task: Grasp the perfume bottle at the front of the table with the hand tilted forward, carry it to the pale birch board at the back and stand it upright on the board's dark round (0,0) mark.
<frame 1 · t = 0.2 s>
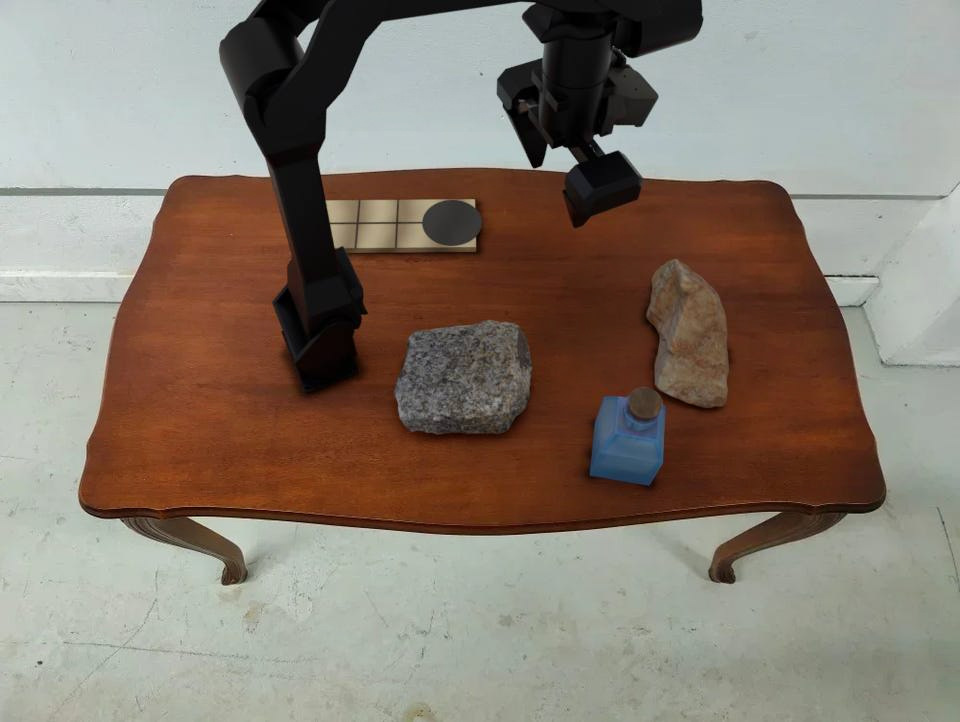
hand: (557, 195, 74), 15 cm above the table, tool pointing down, fingers open, 9 cm apart
perfume bottle: (621, 454, 75), on the table
stone: (684, 342, 83), on the table
rock: (464, 390, 79), on the table
board: (397, 228, 91), on the table
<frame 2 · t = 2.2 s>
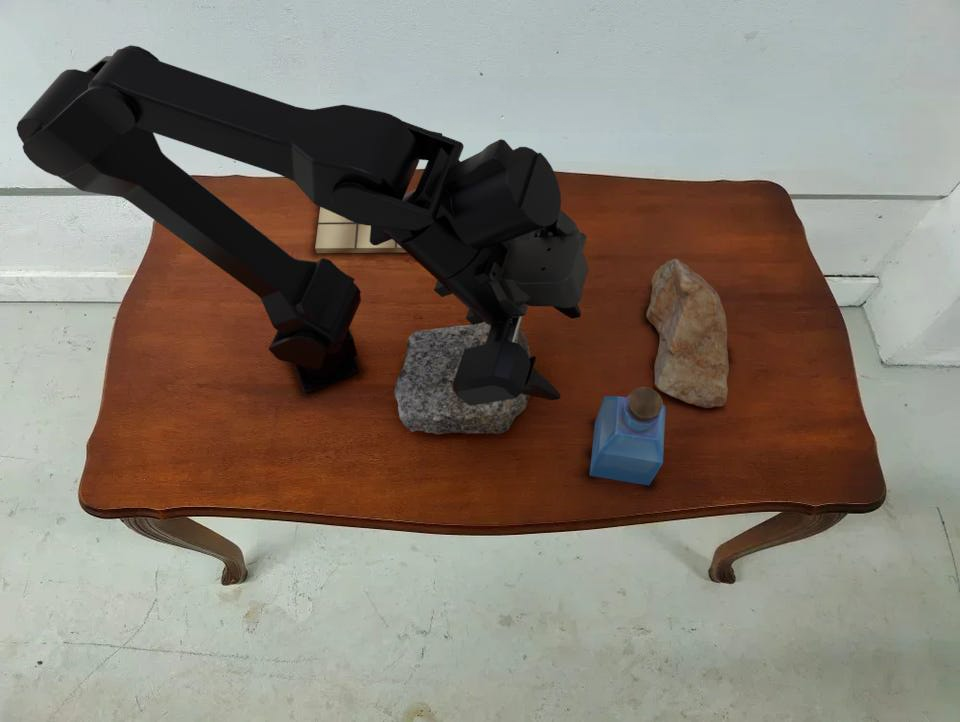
hand: (567, 356, 66), 13 cm above the table, tool tilted 40°, fingers open, 9 cm apart
nothing on the table moved.
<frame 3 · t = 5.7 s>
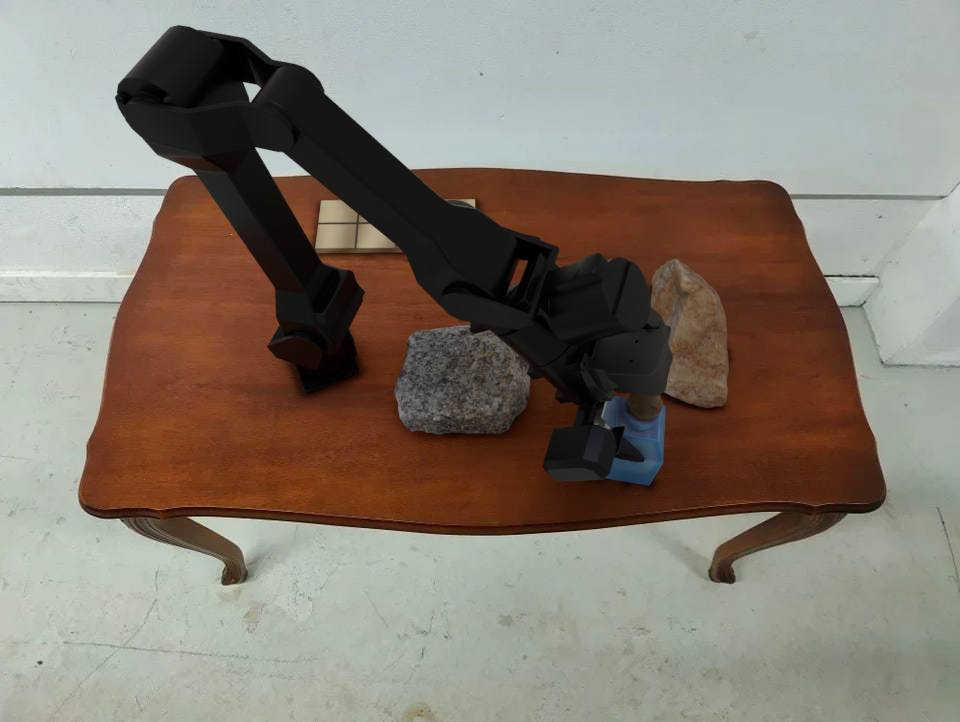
hand: (647, 430, 69), 7 cm above the table, tool tilted 45°, fingers closed on perfume bottle, 6 cm apart
perfume bottle: (621, 454, 75), on the table, touching gripper
everything else where it was.
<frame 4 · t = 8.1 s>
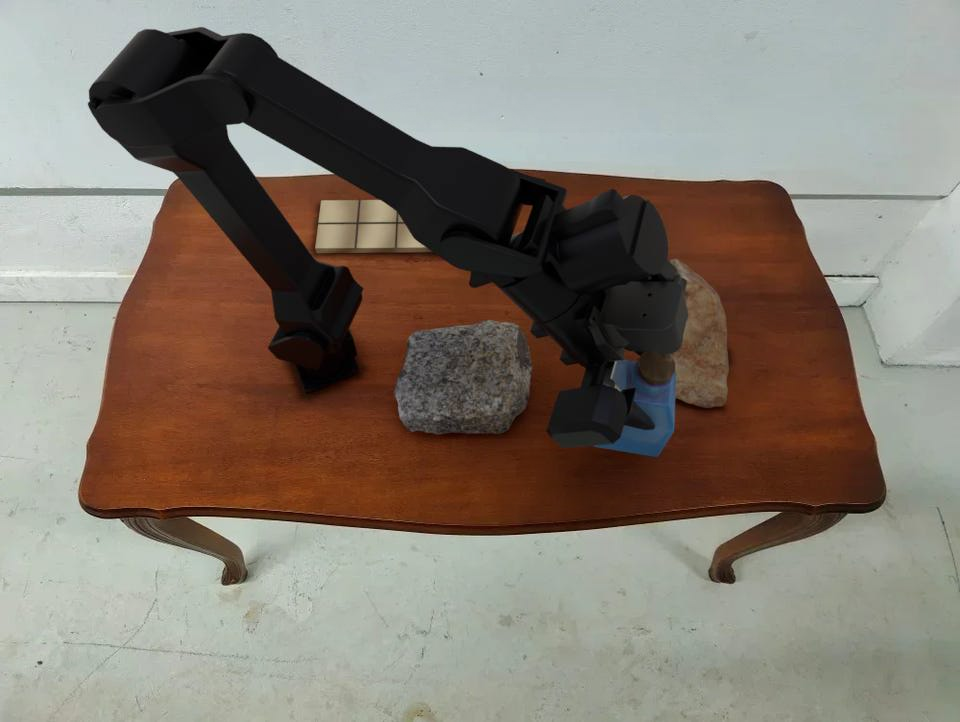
hand: (657, 396, 65), 12 cm above the table, tool tilted 45°, fingers closed on perfume bottle, 6 cm apart
perfume bottle: (627, 424, 71), point 5 cm above the table, touching gripper
everything else where it was.
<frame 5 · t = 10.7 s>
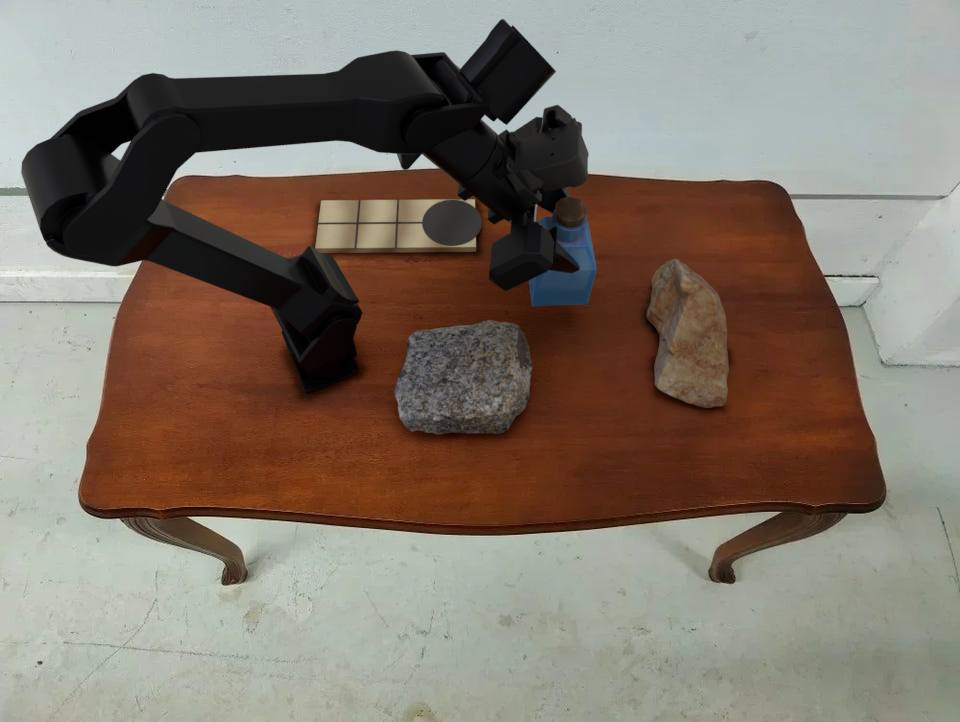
hand: (577, 245, 74), 12 cm above the table, tool tilted 45°, fingers closed on perfume bottle, 6 cm apart
perfume bottle: (556, 283, 80), point 5 cm above the table, touching gripper
everything else where it was.
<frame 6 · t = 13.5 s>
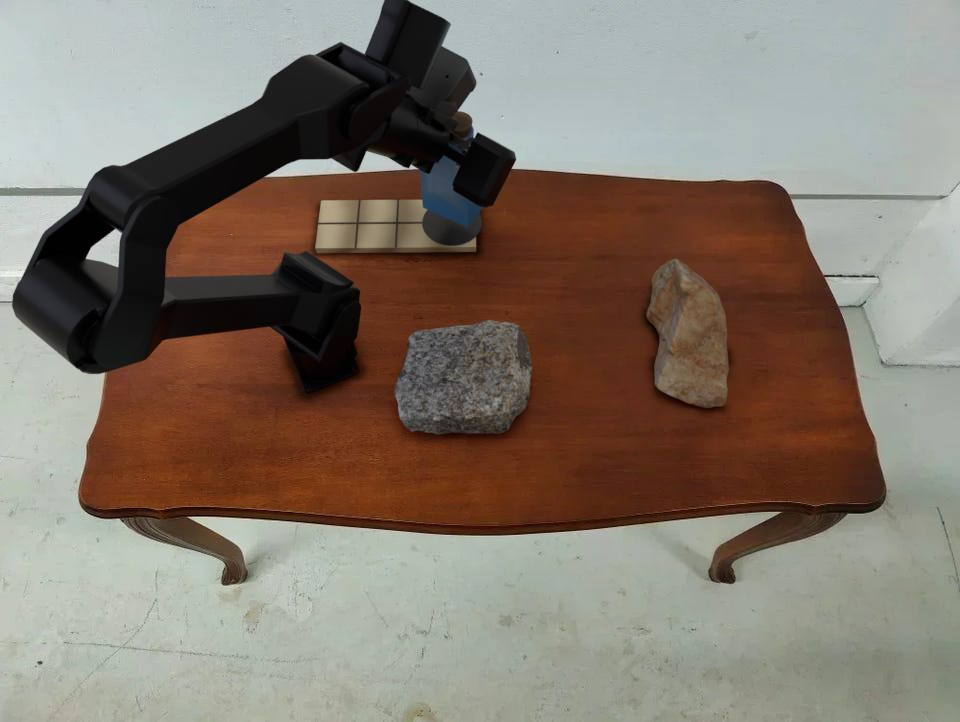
hand: (464, 152, 81), 12 cm above the table, tool tilted 45°, fingers closed on perfume bottle, 6 cm apart
perfume bottle: (458, 202, 86), point 5 cm above the table, touching gripper
everything else where it was.
when the fingers open (8 cm above the table, at t = 15.8 s): perfume bottle stays where it is, resting on board.
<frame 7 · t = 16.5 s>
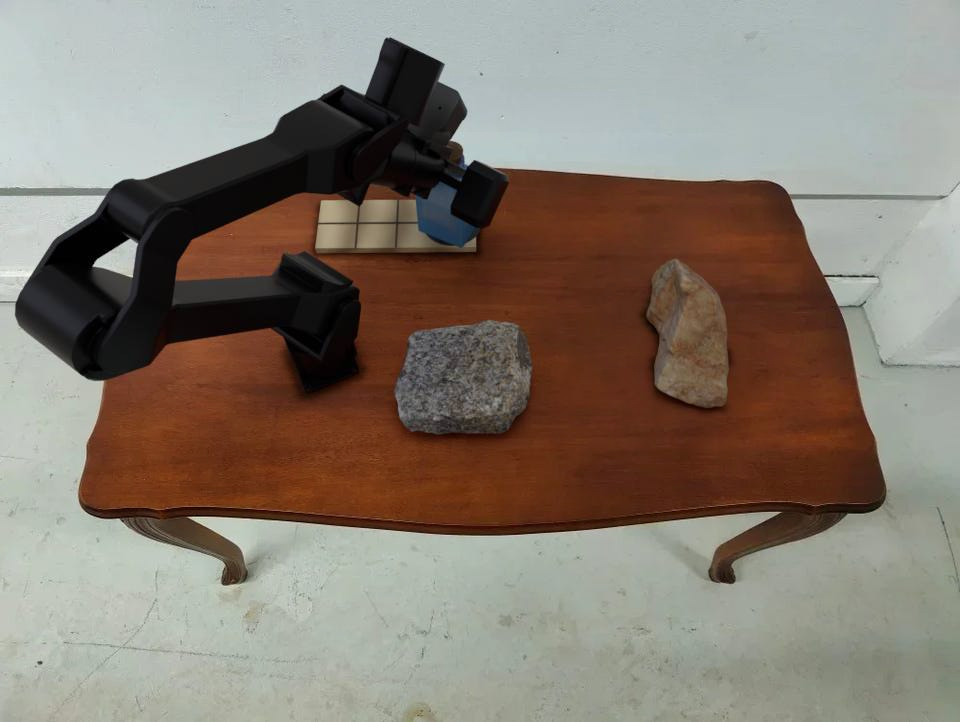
hand: (457, 174, 84), 8 cm above the table, tool tilted 45°, fingers open, 9 cm apart
perfume bottle: (451, 223, 90), point 1 cm above the table, touching board
everything else where it was.
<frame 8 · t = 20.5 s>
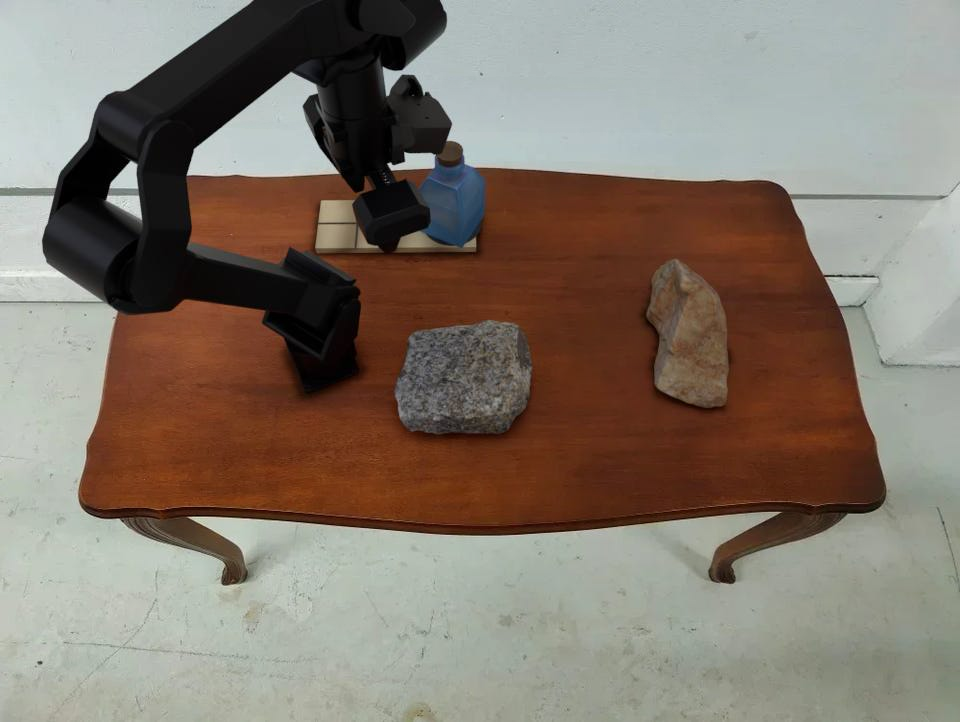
hand: (374, 220, 74), 13 cm above the table, tool pointing down, fingers open, 9 cm apart
nothing on the table moved.
at the end: perfume bottle 0.3 cm from the target spot on the board, point 0.9 cm above the board's base; perfume bottle tilted 0°; the gripper is holding nothing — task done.
